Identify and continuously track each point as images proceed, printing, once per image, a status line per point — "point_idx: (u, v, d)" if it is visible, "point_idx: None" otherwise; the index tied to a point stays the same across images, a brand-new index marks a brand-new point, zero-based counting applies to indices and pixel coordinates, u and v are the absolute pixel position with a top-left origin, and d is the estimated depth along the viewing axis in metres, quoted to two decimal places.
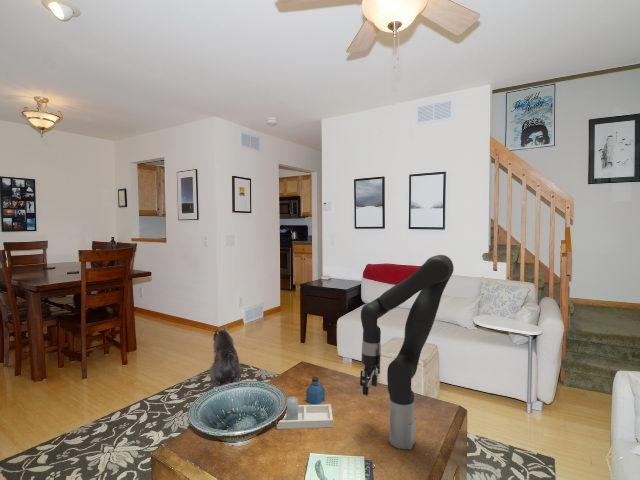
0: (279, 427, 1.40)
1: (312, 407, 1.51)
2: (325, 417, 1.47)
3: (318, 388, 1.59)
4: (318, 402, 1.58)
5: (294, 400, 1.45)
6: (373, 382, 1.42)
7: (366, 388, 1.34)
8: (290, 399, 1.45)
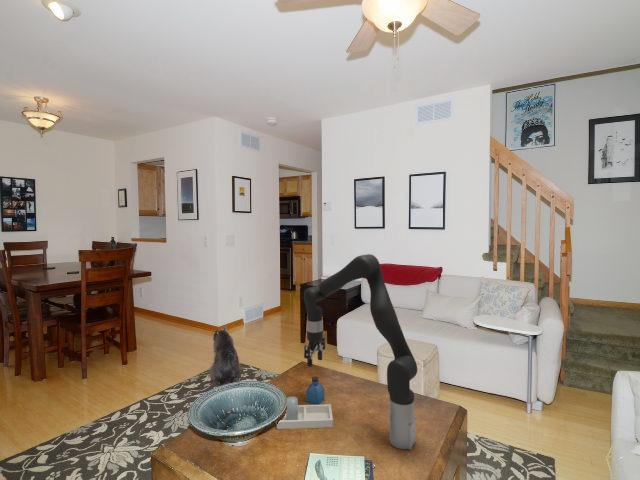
0: (279, 427, 1.40)
1: (312, 407, 1.51)
2: (325, 417, 1.47)
3: (318, 388, 1.59)
4: (318, 402, 1.58)
5: (294, 400, 1.44)
6: (319, 357, 1.63)
7: (310, 360, 1.55)
8: (289, 399, 1.45)
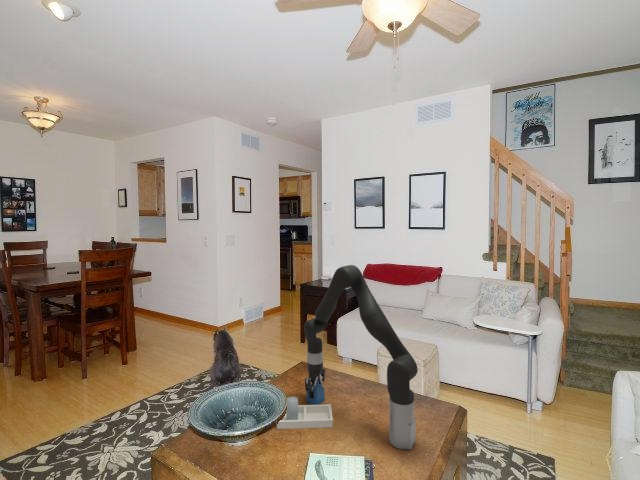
0: (279, 427, 1.40)
1: (312, 407, 1.51)
2: (325, 417, 1.47)
3: (318, 388, 1.59)
4: (318, 402, 1.58)
5: (294, 400, 1.44)
6: None
7: (311, 393, 1.57)
8: (290, 399, 1.45)
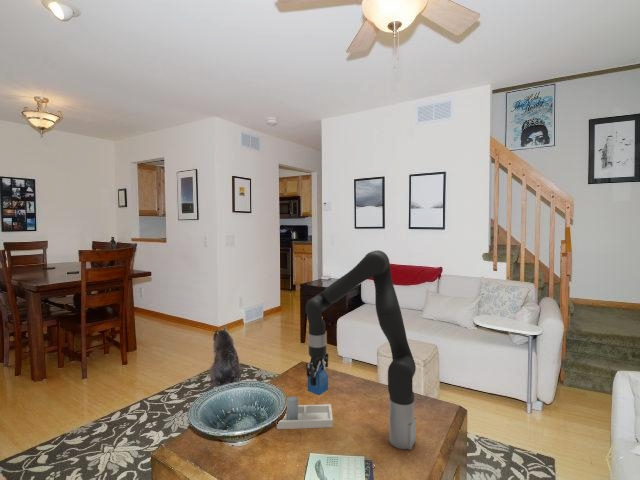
0: (279, 427, 1.40)
1: (312, 407, 1.51)
2: (325, 417, 1.47)
3: (321, 374, 1.43)
4: (321, 389, 1.42)
5: (294, 400, 1.45)
6: None
7: (313, 379, 1.41)
8: (290, 399, 1.45)
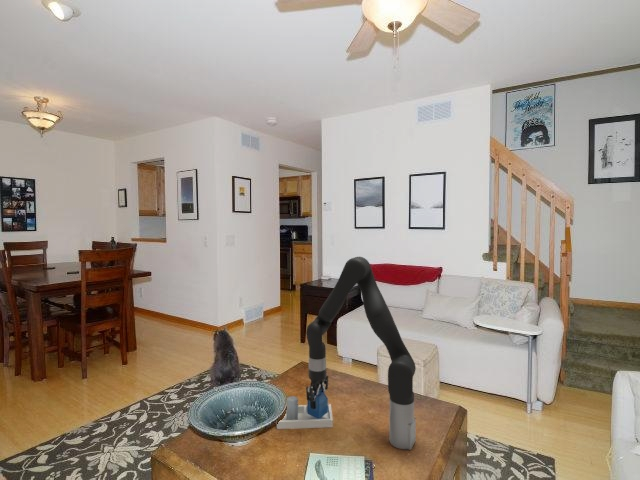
0: (279, 427, 1.40)
1: None
2: (325, 417, 1.47)
3: (321, 397, 1.44)
4: (321, 413, 1.43)
5: (294, 400, 1.45)
6: None
7: (313, 402, 1.42)
8: (290, 399, 1.45)
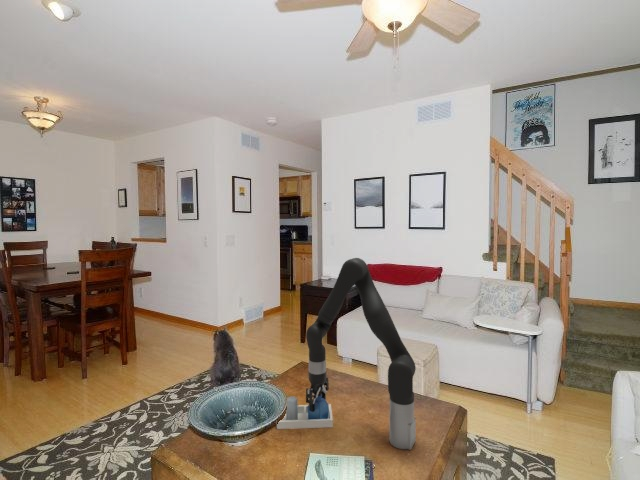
0: (279, 427, 1.40)
1: None
2: None
3: (321, 403, 1.44)
4: None
5: (294, 400, 1.45)
6: None
7: (312, 405, 1.41)
8: (289, 400, 1.45)
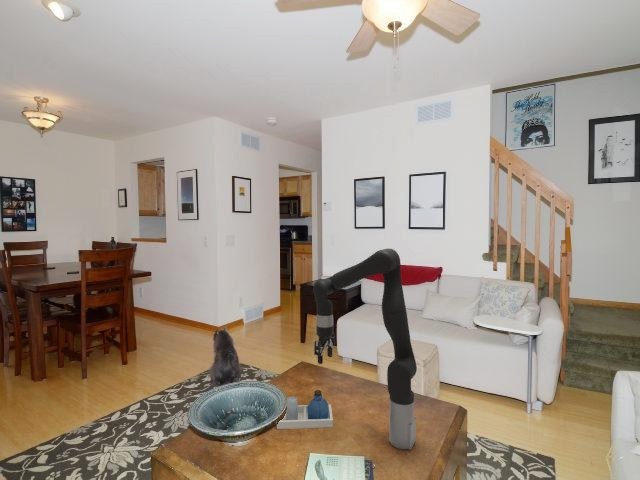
0: (279, 427, 1.40)
1: None
2: None
3: (321, 403, 1.44)
4: None
5: (294, 400, 1.45)
6: (329, 353, 1.54)
7: (320, 357, 1.46)
8: (289, 400, 1.45)
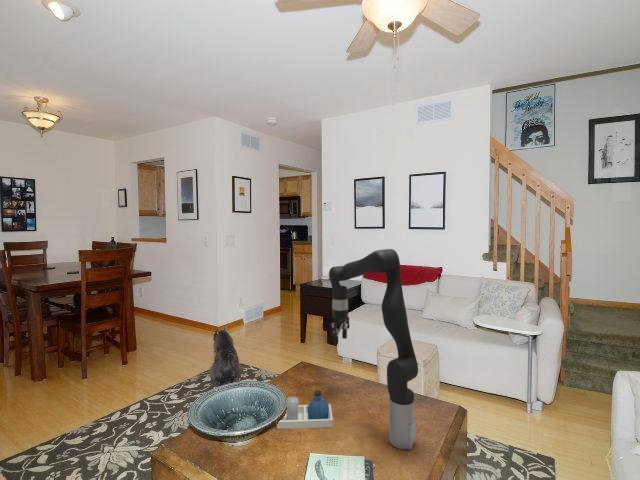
0: (279, 427, 1.40)
1: None
2: None
3: (321, 403, 1.44)
4: None
5: (295, 400, 1.45)
6: (344, 335, 1.67)
7: (336, 338, 1.59)
8: (290, 399, 1.45)
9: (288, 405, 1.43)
